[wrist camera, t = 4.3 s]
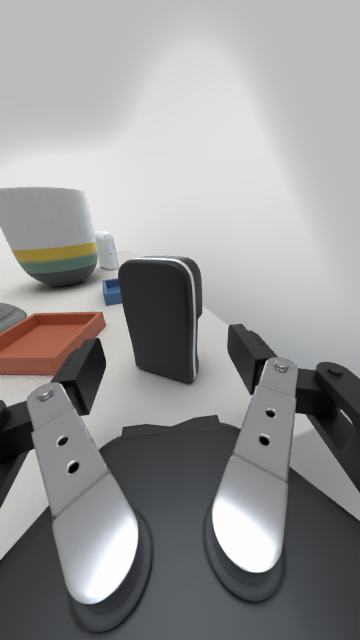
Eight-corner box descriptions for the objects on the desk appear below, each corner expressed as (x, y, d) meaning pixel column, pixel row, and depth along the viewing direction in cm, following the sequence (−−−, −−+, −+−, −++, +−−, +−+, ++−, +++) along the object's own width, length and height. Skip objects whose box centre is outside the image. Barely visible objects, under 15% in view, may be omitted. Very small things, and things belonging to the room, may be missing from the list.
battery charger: (206, 362, 21) (207, 253, 16) (193, 387, 18) (188, 262, 13) (153, 348, 24) (138, 252, 19) (133, 368, 21) (110, 259, 16)
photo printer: (120, 268, 70) (113, 230, 64) (109, 270, 67) (100, 231, 62) (109, 265, 77) (102, 230, 71) (98, 267, 74) (90, 231, 69)
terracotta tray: (105, 324, 31) (102, 311, 30) (62, 375, 21) (55, 357, 20) (39, 326, 32) (34, 313, 31) (-31, 374, 22) (-43, 357, 21)
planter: (117, 280, 55) (98, 189, 45) (35, 301, 43) (-14, 184, 34) (90, 271, 68) (71, 199, 58) (22, 285, 56) (-15, 198, 47)
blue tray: (161, 295, 42) (160, 285, 41) (106, 305, 38) (103, 294, 37) (149, 282, 51) (148, 273, 50) (104, 289, 48) (102, 280, 47)
